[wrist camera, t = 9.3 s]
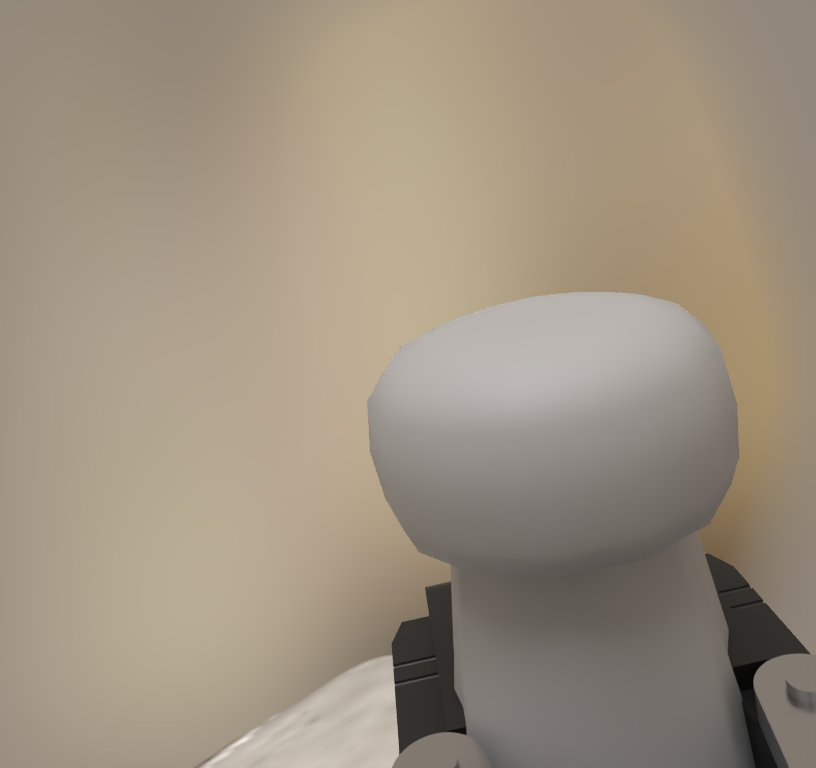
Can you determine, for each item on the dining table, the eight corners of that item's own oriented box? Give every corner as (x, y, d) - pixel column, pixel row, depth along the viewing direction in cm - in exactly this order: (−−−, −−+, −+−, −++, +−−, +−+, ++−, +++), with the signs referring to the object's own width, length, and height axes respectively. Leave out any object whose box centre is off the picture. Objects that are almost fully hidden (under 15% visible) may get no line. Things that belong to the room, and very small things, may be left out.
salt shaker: (416, 1069, 14) (197, 380, 10) (608, 841, 17) (503, 258, 13) (739, 1447, 9) (579, 465, 5) (913, 1040, 13) (894, 247, 9)
